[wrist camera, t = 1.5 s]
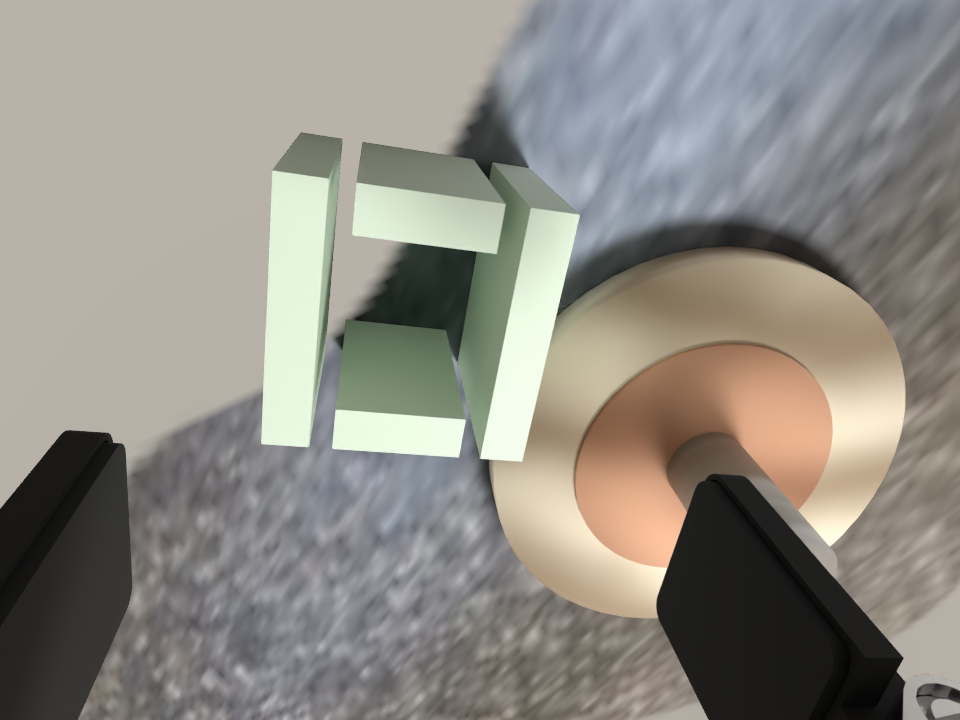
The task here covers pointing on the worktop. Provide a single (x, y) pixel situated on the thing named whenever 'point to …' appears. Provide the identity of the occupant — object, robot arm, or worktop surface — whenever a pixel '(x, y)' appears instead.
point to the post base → (697, 417)
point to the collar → (405, 349)
